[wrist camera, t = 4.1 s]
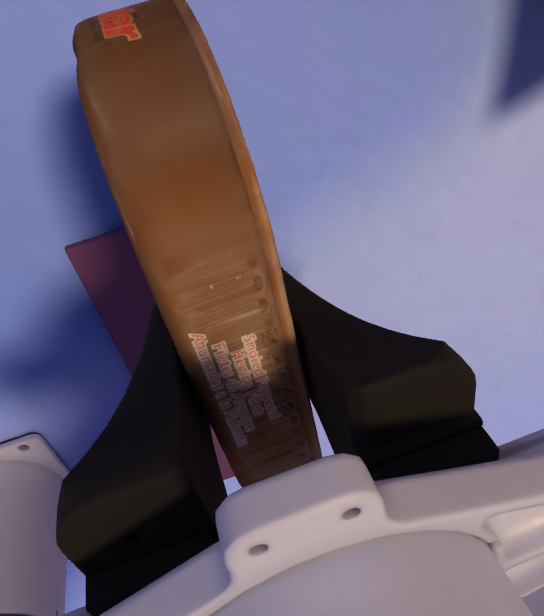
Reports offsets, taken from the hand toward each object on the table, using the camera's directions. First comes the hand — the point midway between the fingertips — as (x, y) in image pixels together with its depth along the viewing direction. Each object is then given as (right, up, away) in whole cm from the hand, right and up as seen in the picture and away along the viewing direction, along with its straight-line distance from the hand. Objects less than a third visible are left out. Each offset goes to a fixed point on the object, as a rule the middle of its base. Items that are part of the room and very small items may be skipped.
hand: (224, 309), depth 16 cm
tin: (-2, +3, +3) cm, 5 cm away
